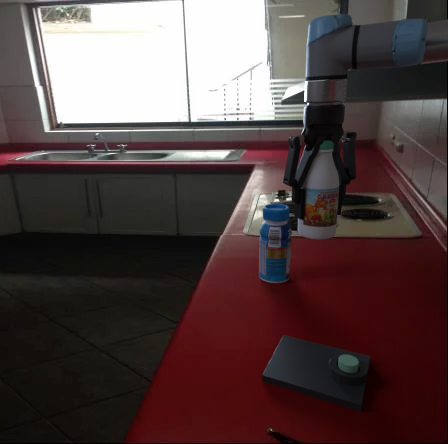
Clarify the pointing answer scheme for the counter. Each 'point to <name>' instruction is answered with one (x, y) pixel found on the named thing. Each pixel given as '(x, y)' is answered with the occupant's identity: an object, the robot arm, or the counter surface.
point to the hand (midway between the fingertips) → (317, 215)
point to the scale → (317, 372)
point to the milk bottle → (321, 196)
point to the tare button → (348, 363)
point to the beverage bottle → (275, 244)
